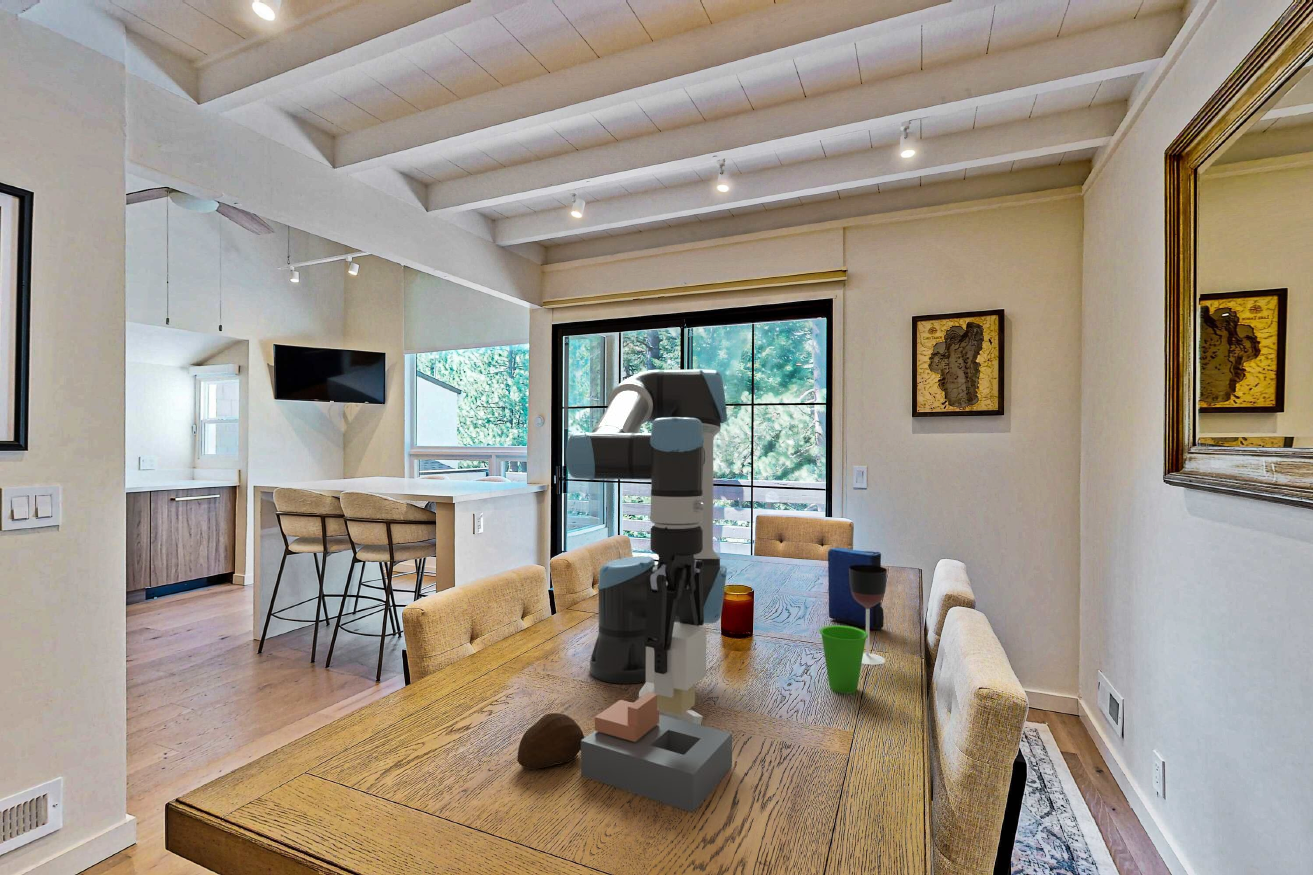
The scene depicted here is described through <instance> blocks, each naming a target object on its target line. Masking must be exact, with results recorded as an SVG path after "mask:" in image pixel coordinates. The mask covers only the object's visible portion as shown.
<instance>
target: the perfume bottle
mask: <svg viewBox="0 0 1313 875" xmlns="http://www.w3.org/2000/svg"><path fill="white" fill-rule="evenodd" d="M648 692H651V693H654V683H649V682H646V681H645V683H644V685H643V686H642V687H641V689H640V690H639V691H638V699H639V698H641V697H642V696H644V695H645V694H646V693H648ZM659 715H663V716H667V717H671V718H675V719H679V720H683V721H687V722H691V723H695V724H698V725H701V724H702V720H703V718H704V716H703V715H701V714H699V713H698V712H696V711H694V710H693V709H691V708H690V709H689V710H688V711H687V712H685V713H684V714H683V715H680V714H676V713H671V712H667V711H663V710H659Z"/></svg>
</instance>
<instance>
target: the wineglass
mask: <svg viewBox="0 0 1313 875" xmlns="http://www.w3.org/2000/svg"><path fill="white" fill-rule="evenodd" d="M887 574H888V570H887V568H885V567H883V566H881V567H880V566H874V565H853V566H850V567H849V578H850V588H851V592H852V595H853V597H854V599H855V600H856V601H857V602H858V603H859V604H861V605H863V606H864V607H865V608H866V627H865V632H866V633H867V634H868V637H867V638H866V640H865V652H863V658H862V664H864V665H872V666H874V665H882V664H885V663H886V658H884V657H883V656H881V655H877V654H875V653H870V629H869V618H870V608H871V607H873V606H875V605H877V604H878V603H879V602H881V603H882V601H883V599H884V597H885V593H886V589H887Z"/></svg>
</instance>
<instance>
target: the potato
mask: <svg viewBox="0 0 1313 875" xmlns="http://www.w3.org/2000/svg"><path fill="white" fill-rule="evenodd" d="M584 738H585V736H584V732H583V730H582V728H581V727H580V725H579V724H578V723H577V722H576V721H575V720H574V719H573V718H572V717H570V716H569V715H567V714H564V713H559V712H551V713H547V714H545V715H543V716H542V717H541V718H540V719H539V720H537V721H536V723H534V724H533V725H532V726H530V727H529V728H528V729H527V730H525V732H524V733H523V735H522V737H521V739H520V741H519V745H518V749H517V758H516V759H517V762H518V764H519V765H520V766H521V767H523V768H525V769H531V770H532V769H533V770H537V769H542V768H543V769H544V768H547V767H550V766H554V765H558V764H565V763H567V762H570V761H571V760H573V759H575V757H577V756H578V754H579V753H580V752H581V740H583V739H584Z"/></svg>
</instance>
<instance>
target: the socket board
mask: <svg viewBox="0 0 1313 875" xmlns="http://www.w3.org/2000/svg"><path fill="white" fill-rule="evenodd" d="M732 768H733V732H729V731H725V730H721V729H719V728H714V727H710V726H706V725H701V724H700V725H698V724H695V723H691V722H687V721H683V720H679V719H675V718H671V717H667V716H663V715H659V723H658V724H657V725H656V726H654V727H653V728H652V729H651V730H649V731H648V732H647V733H646V734H645V735H643V736H642V737H641V738H640V739H638V740H637V741H636V742H633V741H630V740H626V739H623V738H619V737H616V736H612V735H609V734H605V733H602V732H598V731H595V730H594V731H592V732H591V733H589V734H588V735H587V736H584V739H583V740H581V750H580V776H581V777H584V778H587V779H589V780H593V781H596V782H598V783H602V784H604V785H605V784H606V785H608V786H611V787H613V788H614V787H615V788H617V789H619V790H623V791H626V792H629V793H632V794H634V795H638V796H640V797H644V798H646V799H650V800H653V801H656V802H659V803H661V804H665V805H667V806H671V807H673V808H677V809H680V810H682V811H686V812H688V813H692V814H694V813H695V812H696V811H697V810H698V809H699V807H700V806H701V805H702V804H703V802H704V801H705V800H706V799H707V798H708V796H709V795H710V794H711V793H712V791H713V790H714V789H715V788H716V787H717V786H718V784H719V783H720V782H721V781H722V779H723V778H724V777H725V776H726V775H727V774H728V772H729V771H730V770H731V769H732Z"/></svg>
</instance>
